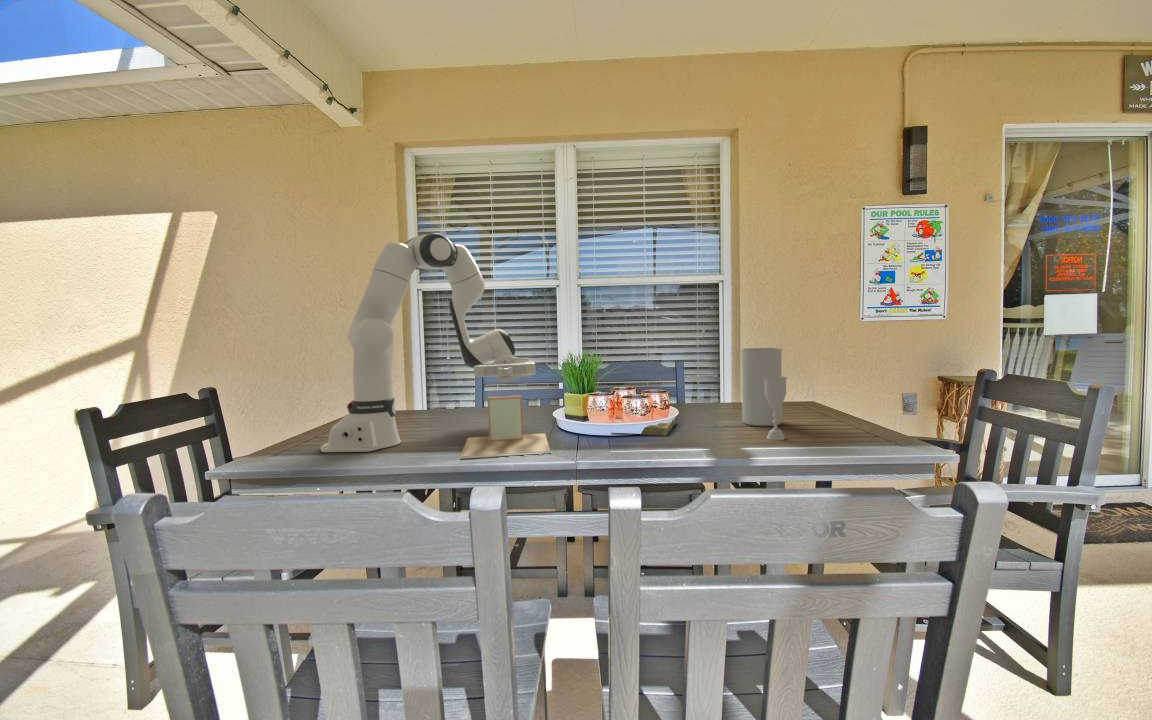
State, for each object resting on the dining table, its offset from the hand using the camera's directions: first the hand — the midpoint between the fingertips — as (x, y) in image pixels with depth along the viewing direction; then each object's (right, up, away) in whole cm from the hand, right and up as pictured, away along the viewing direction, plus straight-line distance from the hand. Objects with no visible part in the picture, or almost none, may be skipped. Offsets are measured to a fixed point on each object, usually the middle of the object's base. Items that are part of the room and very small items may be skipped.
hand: (504, 371), depth 161 cm
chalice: (+81, -19, -13) cm, 84 cm away
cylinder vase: (+85, -18, +9) cm, 88 cm away
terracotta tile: (+2, -20, -8) cm, 22 cm away
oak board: (+2, -22, -14) cm, 26 cm away
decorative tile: (+45, -20, +8) cm, 50 cm away
